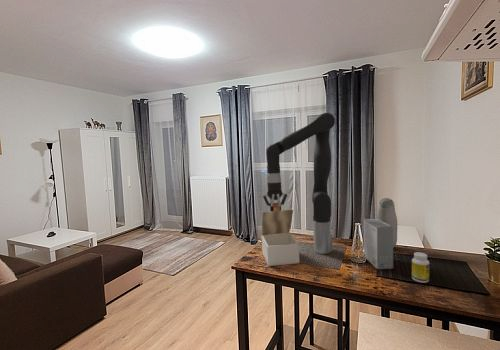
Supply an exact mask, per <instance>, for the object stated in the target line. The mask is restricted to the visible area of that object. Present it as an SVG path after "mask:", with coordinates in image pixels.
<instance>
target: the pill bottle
mask: <svg viewBox="0 0 500 350" xmlns="http://www.w3.org/2000/svg"><path fill="white" fill-rule="evenodd" d="M411 279H412V280H413V281H415V282H418V283H423V284H425V283H429V281H430V261H429V260H428V254H427V253H424V252H419V251H418V252H417V251H416V252H414V253H413V258H412V259H411Z"/></svg>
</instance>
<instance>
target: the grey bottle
mask: <svg viewBox="0 0 500 350" xmlns="http://www.w3.org/2000/svg"><path fill="white" fill-rule="evenodd" d="M395 209H396V208H395V202H394V200H392V199H391V198H389V197H388V198H386V197H385V198H382V199H381V200H379V202H378V210H377V215H376V219H379V220H381V221H383V222H385V223H387V224H389V225H391V226H392V227H393V249H395V247H396V245H397V242H398V217H397V214H396V210H395Z"/></svg>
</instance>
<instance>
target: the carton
mask: <svg viewBox="0 0 500 350" xmlns="http://www.w3.org/2000/svg"><path fill="white" fill-rule="evenodd" d="M261 251H262V254H263V258H264V260H265V262H266V263H267V266H268V267H272V266H282V265H283V266H284V265H293V264H300V245H299V242H298V241H297V240H296V239H295V237H294V236H293V235H292V234H291V233H290V232H289V233H280V234H268V235H261Z"/></svg>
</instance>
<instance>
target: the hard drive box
mask: <svg viewBox="0 0 500 350" xmlns="http://www.w3.org/2000/svg"><path fill="white" fill-rule="evenodd" d="M364 254H365V257H366V258H365V257H364V258H365V259H366V260H367V261H368V262H369V263H370V264H372V266H373V267H374V268H375V269H376V270H392V269H394V248H393V227H392V226H391V225H389V224H387V223H385V222H383V221H381V220H379V219H377V218H364V219H363V255H364Z"/></svg>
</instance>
